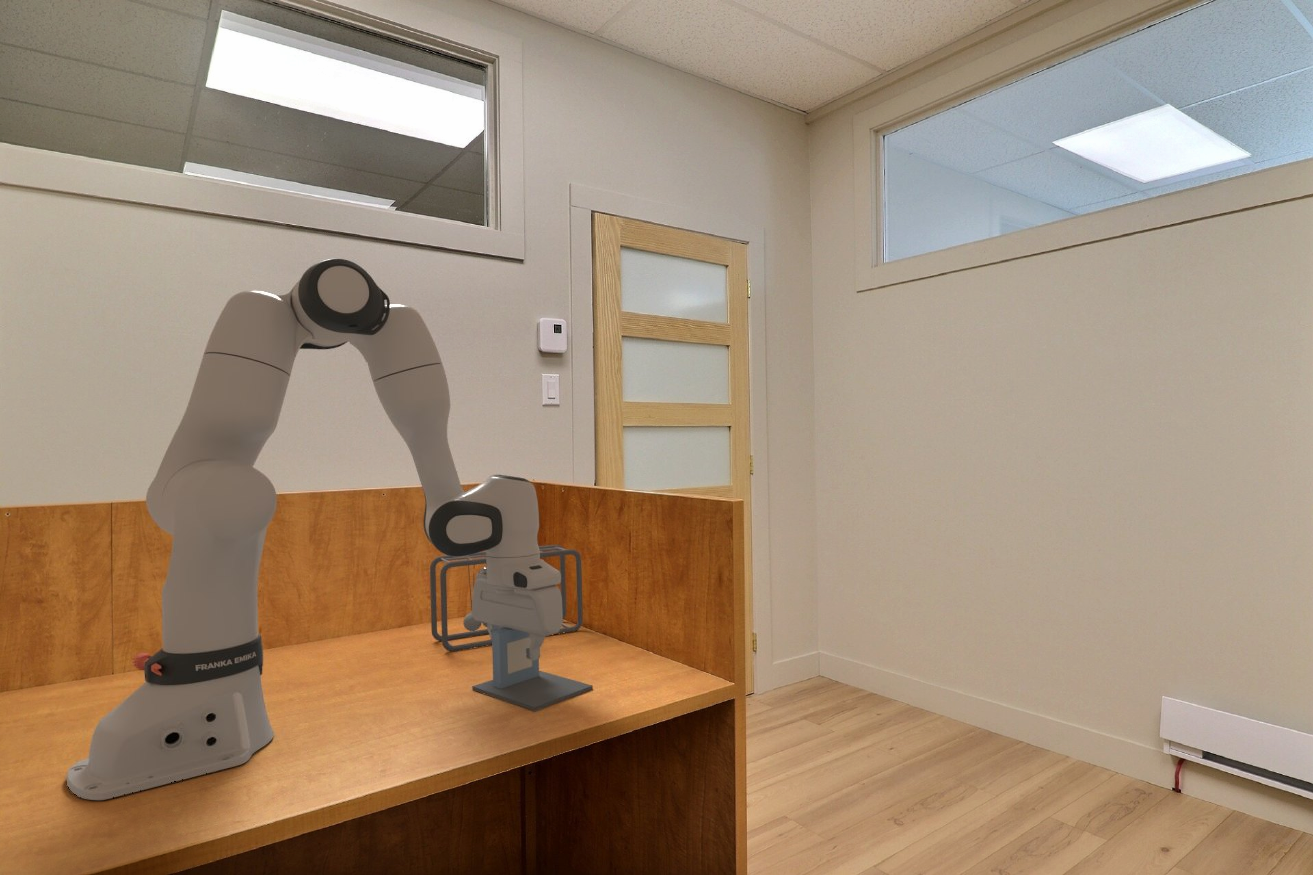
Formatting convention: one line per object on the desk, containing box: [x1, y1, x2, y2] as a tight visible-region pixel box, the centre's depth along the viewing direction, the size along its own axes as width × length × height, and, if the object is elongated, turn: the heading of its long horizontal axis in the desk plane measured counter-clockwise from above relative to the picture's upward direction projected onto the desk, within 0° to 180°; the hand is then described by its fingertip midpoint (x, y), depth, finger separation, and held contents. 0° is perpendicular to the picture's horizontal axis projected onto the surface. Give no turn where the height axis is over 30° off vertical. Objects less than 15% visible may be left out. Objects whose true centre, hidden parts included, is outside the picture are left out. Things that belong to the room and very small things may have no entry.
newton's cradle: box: [429, 544, 584, 653], centre depth 151 cm, size 30×10×18 cm, turn 120°
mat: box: [471, 670, 594, 712], centre depth 116 cm, size 12×16×1 cm
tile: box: [491, 628, 540, 689], centre depth 119 cm, size 2×8×9 cm, turn 139°
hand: (515, 654), depth 119 cm, fingers open, 8 cm apart
